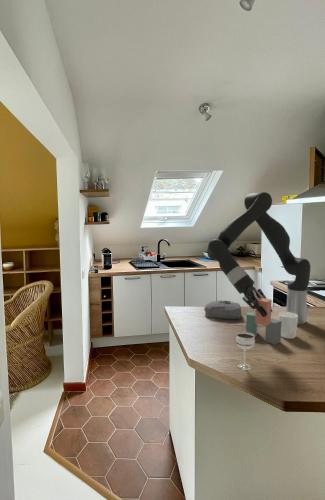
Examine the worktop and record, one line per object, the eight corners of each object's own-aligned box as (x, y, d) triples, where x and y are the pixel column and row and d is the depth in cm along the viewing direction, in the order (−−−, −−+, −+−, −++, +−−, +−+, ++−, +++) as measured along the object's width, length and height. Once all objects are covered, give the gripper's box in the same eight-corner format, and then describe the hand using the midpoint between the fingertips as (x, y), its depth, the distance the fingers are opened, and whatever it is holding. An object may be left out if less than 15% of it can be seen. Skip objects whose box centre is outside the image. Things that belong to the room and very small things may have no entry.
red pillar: (259, 320, 122) (260, 297, 121) (270, 322, 119) (271, 299, 118) (255, 323, 119) (255, 299, 118) (266, 326, 116) (267, 302, 115)
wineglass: (251, 373, 104) (252, 340, 103) (232, 368, 108) (233, 336, 107) (256, 365, 110) (257, 333, 109) (238, 360, 114) (239, 330, 112)
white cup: (296, 333, 140) (297, 313, 139) (297, 340, 132) (298, 318, 131) (277, 331, 142) (278, 311, 141) (278, 338, 135) (279, 316, 134)
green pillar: (247, 331, 143) (248, 311, 142) (257, 332, 141) (258, 313, 140) (245, 334, 139) (246, 314, 138) (256, 336, 137) (256, 316, 136)
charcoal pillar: (271, 338, 134) (272, 318, 133) (280, 342, 130) (281, 321, 129) (265, 341, 131) (266, 320, 130) (274, 344, 128) (275, 323, 127)
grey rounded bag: (239, 312, 172) (204, 310, 175) (239, 298, 171) (204, 296, 174) (242, 321, 157) (203, 319, 160) (242, 305, 156) (204, 304, 159)
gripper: (238, 276, 116) (268, 313, 110) (253, 271, 127) (281, 304, 121) (225, 288, 120) (254, 324, 114) (241, 282, 131) (268, 314, 125)
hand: (268, 313), depth 117 cm, fingers closed on red pillar, 4 cm apart
